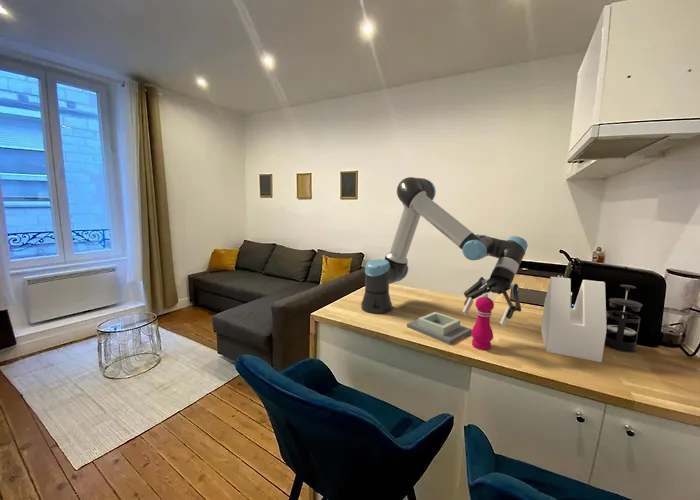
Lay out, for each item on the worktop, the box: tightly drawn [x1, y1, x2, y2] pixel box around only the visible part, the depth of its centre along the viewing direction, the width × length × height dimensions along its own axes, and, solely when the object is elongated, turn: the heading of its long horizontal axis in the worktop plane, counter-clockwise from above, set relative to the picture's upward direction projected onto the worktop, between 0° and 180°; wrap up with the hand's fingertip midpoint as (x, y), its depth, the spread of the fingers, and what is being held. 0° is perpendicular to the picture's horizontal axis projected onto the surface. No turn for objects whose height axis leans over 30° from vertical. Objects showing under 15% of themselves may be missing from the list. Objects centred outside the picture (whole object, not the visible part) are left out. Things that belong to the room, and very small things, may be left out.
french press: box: [604, 284, 644, 353], centre depth 109 cm, size 12×9×23 cm
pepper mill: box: [470, 293, 495, 351], centre depth 108 cm, size 7×7×20 cm
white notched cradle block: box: [540, 276, 607, 363], centre depth 109 cm, size 19×15×25 cm
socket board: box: [406, 311, 473, 345], centre depth 123 cm, size 20×16×4 cm
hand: (482, 319), depth 106 cm, fingers open, 13 cm apart
